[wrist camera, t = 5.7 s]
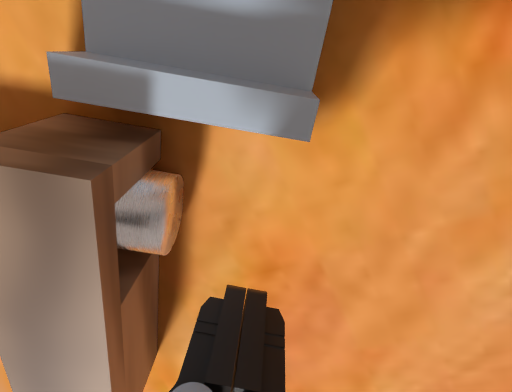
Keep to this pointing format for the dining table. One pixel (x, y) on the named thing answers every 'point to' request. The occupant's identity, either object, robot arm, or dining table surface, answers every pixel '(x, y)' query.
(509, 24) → the dining table surface
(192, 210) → the dining table surface
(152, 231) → the axle
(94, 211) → the beam
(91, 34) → the cradle
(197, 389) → the robot arm
